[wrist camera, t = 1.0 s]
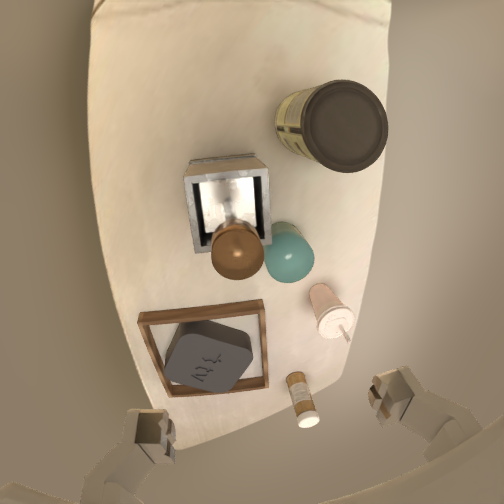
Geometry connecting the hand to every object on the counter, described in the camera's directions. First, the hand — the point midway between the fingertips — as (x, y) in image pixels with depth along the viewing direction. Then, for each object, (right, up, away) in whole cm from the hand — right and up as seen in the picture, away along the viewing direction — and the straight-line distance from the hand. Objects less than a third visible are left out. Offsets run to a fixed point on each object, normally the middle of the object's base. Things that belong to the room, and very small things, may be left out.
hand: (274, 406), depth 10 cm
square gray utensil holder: (-5, +15, +33) cm, 36 cm away
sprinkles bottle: (+9, -23, +54) cm, 59 cm away
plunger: (-4, +12, +25) cm, 28 cm away
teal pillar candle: (+4, +7, +38) cm, 39 cm away
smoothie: (+12, -2, +43) cm, 45 cm away
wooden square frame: (-9, -14, +46) cm, 49 cm away
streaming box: (-10, -13, +46) cm, 49 cm away
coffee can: (+7, +25, +30) cm, 40 cm away
